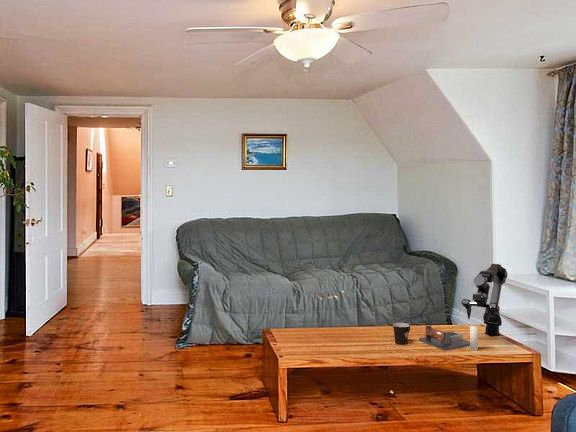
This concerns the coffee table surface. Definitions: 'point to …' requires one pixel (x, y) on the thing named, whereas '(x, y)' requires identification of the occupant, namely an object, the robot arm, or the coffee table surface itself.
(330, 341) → the coffee table surface
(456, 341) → the winch base
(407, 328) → the coffee mug
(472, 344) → the handle post
